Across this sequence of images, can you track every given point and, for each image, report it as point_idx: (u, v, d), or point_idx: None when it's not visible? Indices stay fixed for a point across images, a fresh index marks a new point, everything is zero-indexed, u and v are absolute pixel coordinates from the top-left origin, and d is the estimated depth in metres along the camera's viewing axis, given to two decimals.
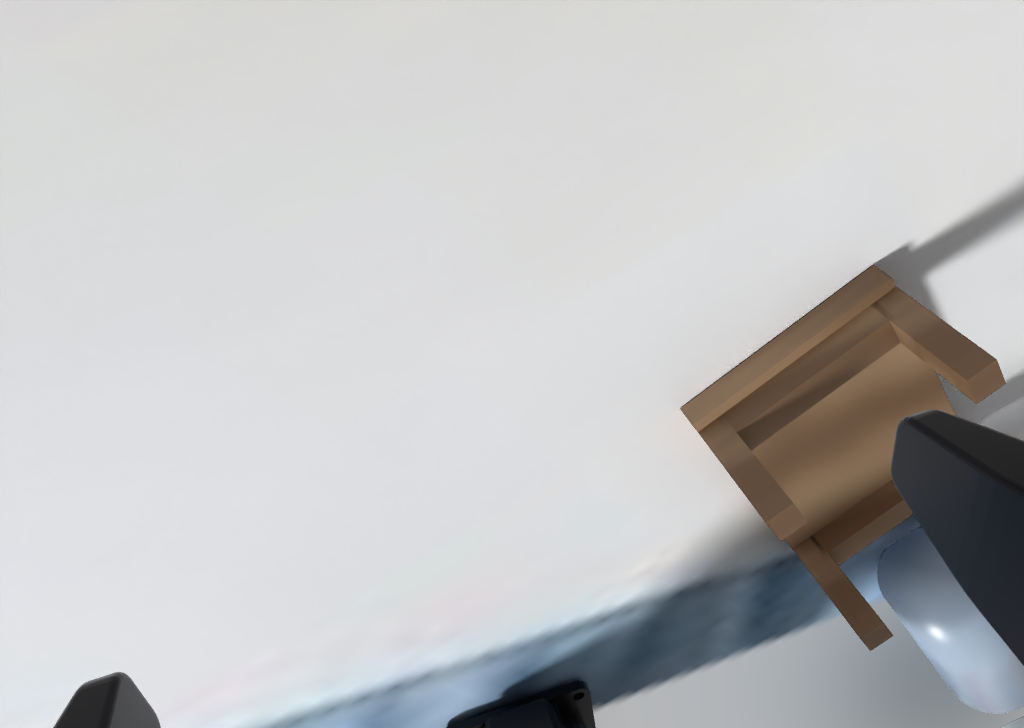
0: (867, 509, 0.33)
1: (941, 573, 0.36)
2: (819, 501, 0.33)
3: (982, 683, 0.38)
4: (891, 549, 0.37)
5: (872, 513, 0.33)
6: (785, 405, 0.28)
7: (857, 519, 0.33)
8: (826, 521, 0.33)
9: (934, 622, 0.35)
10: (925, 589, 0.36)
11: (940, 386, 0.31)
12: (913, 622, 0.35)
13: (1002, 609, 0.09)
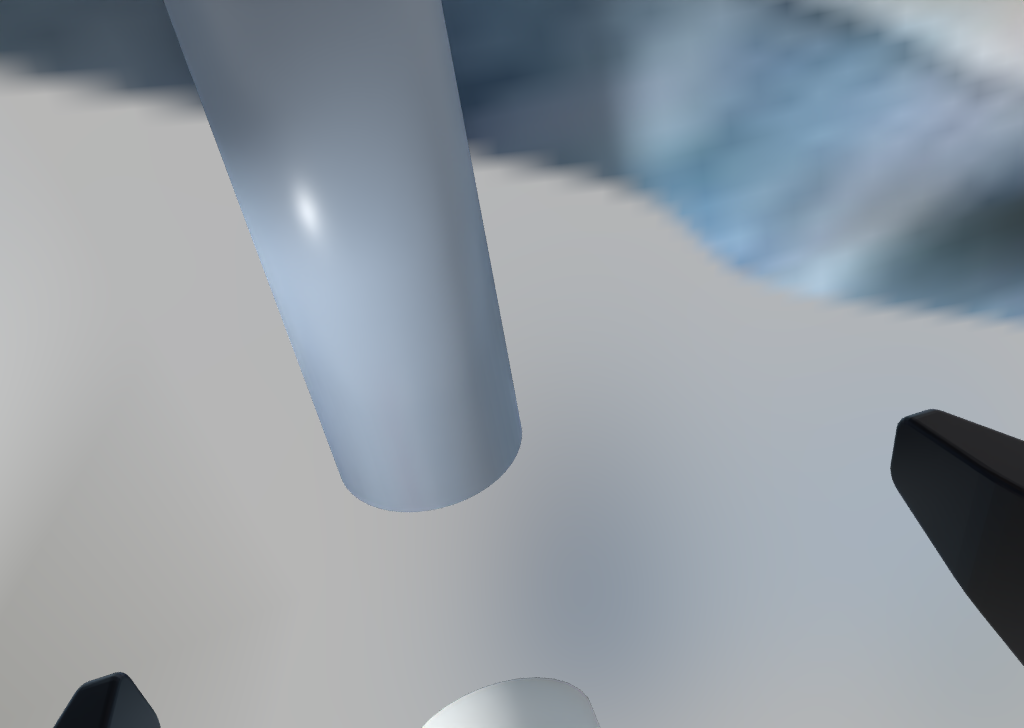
0: None
1: None
2: None
3: (321, 360, 0.16)
4: None
5: None
6: None
7: None
8: None
9: None
10: None
11: None
12: None
13: (1002, 609, 0.09)
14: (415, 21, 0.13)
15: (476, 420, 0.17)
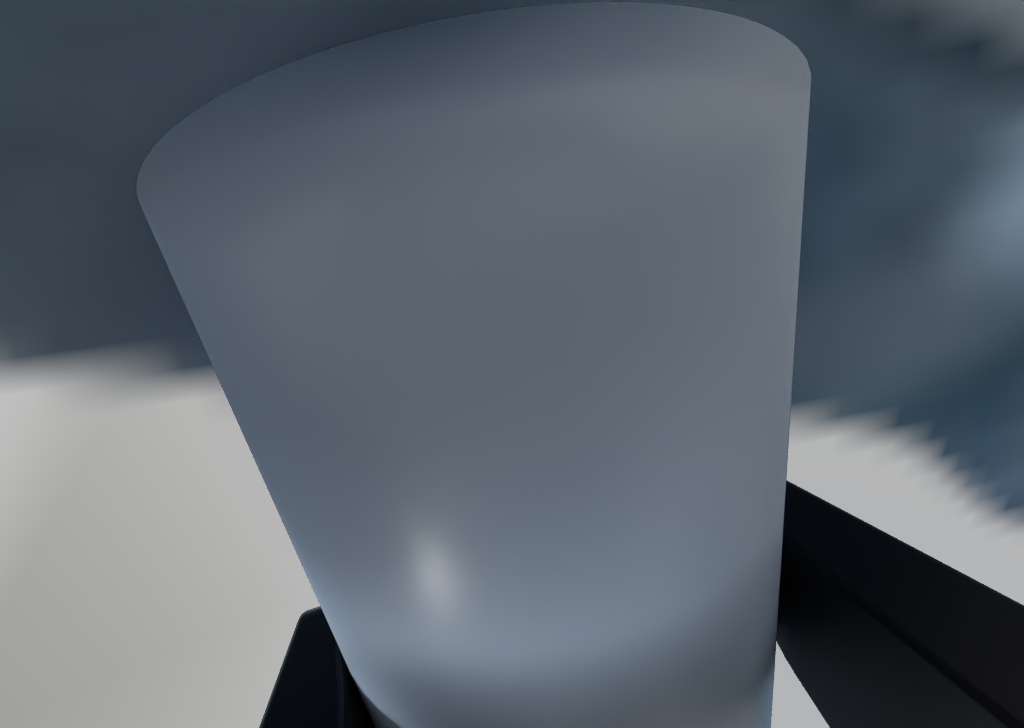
0: None
1: (522, 96, 0.06)
2: None
3: None
4: (346, 49, 0.07)
5: None
6: None
7: None
8: None
9: (306, 261, 0.04)
10: (385, 142, 0.05)
11: None
12: (206, 302, 0.05)
13: (813, 678, 0.09)
14: None
15: None
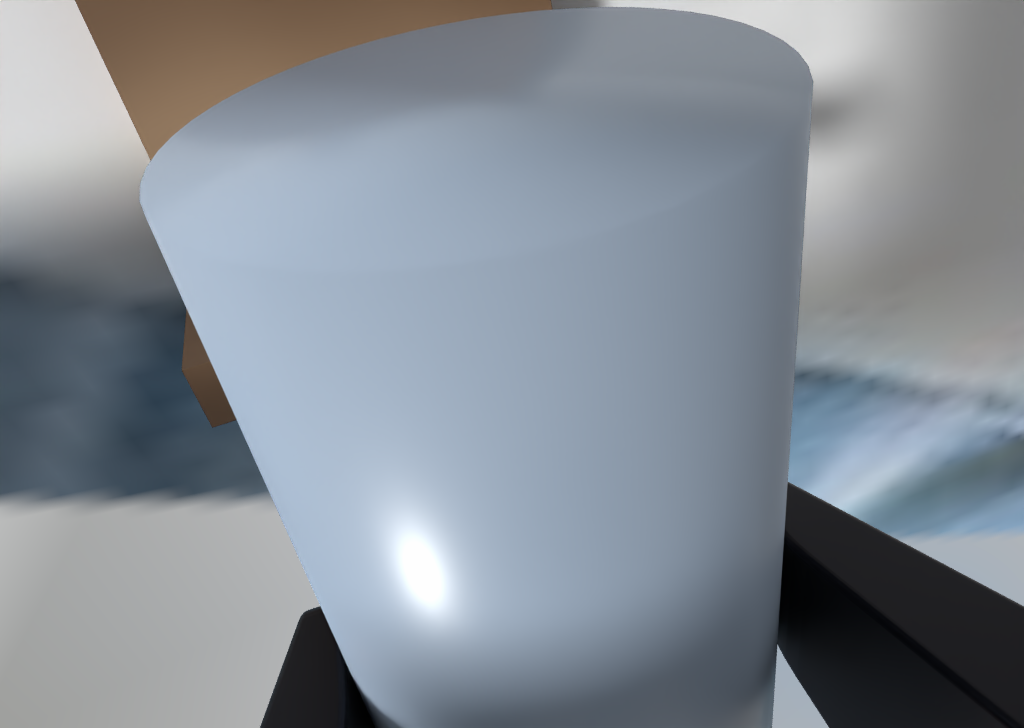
0: None
1: (524, 104, 0.06)
2: None
3: None
4: (348, 55, 0.07)
5: None
6: None
7: None
8: None
9: (308, 269, 0.04)
10: (388, 147, 0.05)
11: None
12: (209, 310, 0.05)
13: (813, 678, 0.09)
14: None
15: None
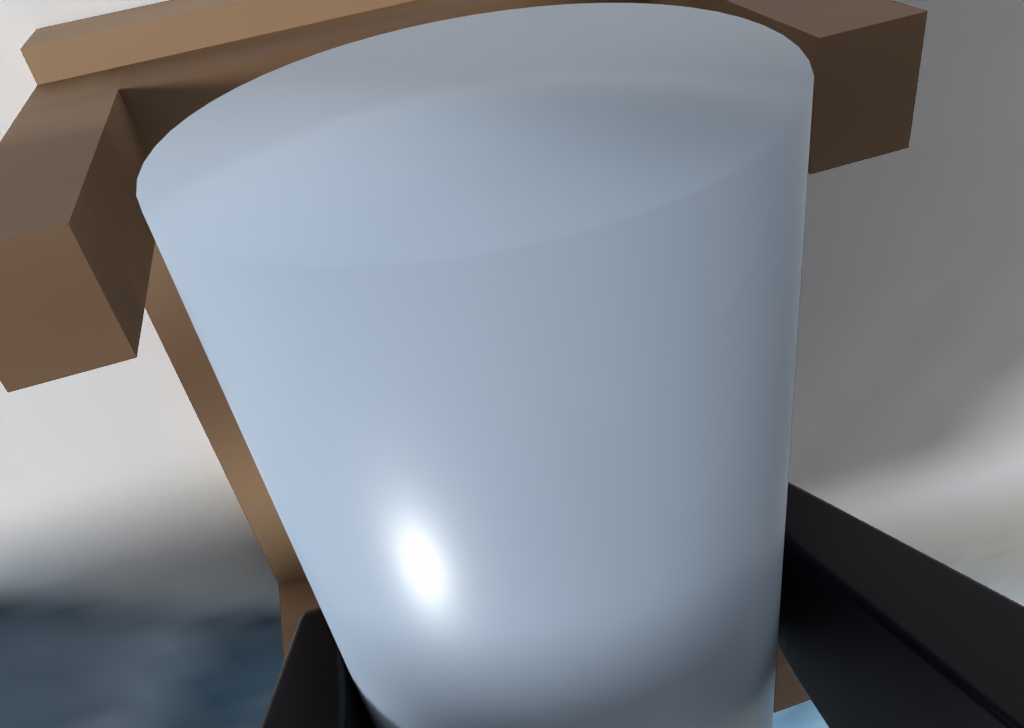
0: None
1: (522, 98, 0.05)
2: None
3: None
4: (348, 51, 0.07)
5: None
6: None
7: None
8: None
9: (307, 262, 0.04)
10: (386, 144, 0.05)
11: None
12: (206, 305, 0.05)
13: (812, 678, 0.09)
14: None
15: None
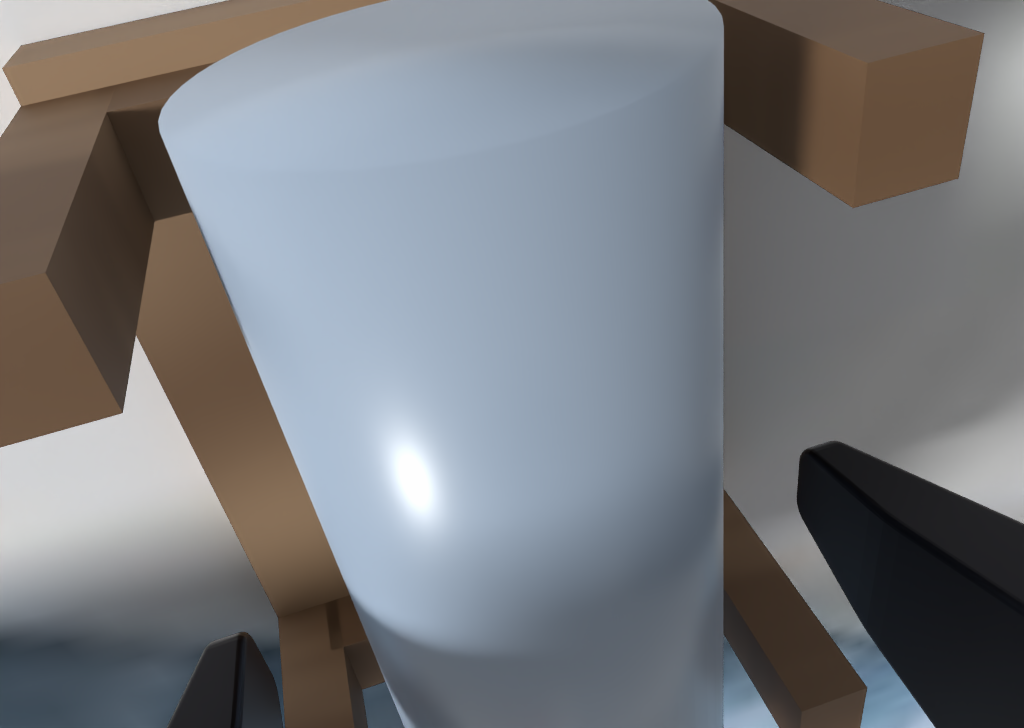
0: None
1: (484, 49, 0.07)
2: None
3: None
4: (332, 21, 0.08)
5: None
6: None
7: None
8: None
9: (309, 167, 0.05)
10: (369, 86, 0.06)
11: None
12: (223, 217, 0.06)
13: (897, 647, 0.09)
14: None
15: None
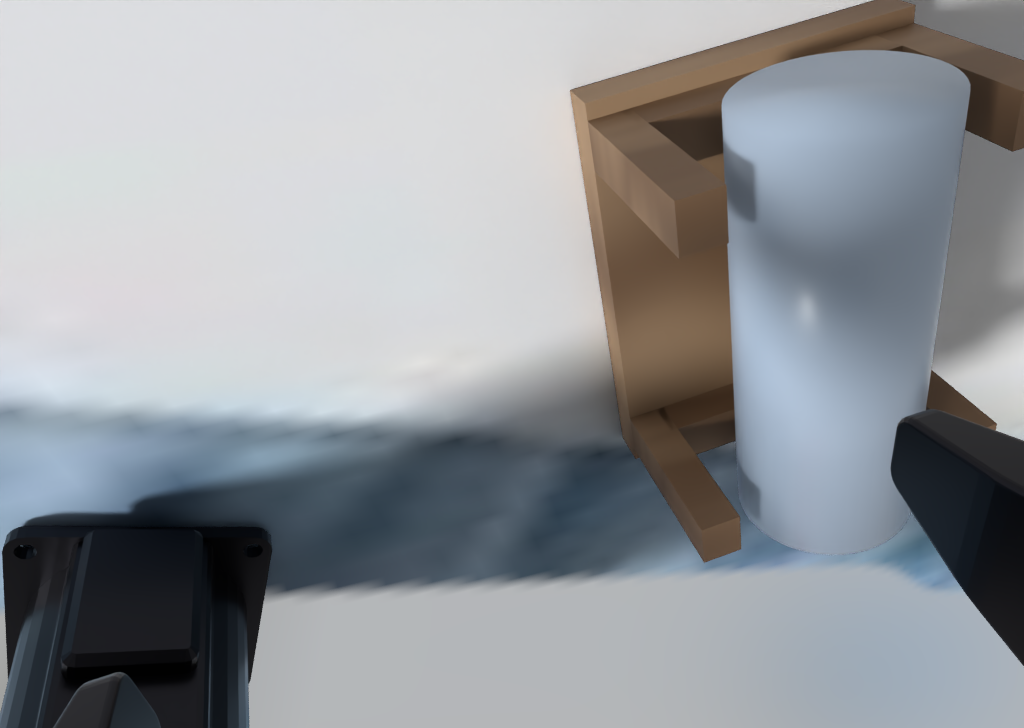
0: None
1: (863, 91, 0.16)
2: (690, 352, 0.23)
3: (842, 437, 0.18)
4: (758, 76, 0.17)
5: None
6: None
7: (727, 399, 0.23)
8: (686, 392, 0.24)
9: (841, 141, 0.14)
10: (825, 108, 0.16)
11: None
12: (786, 162, 0.15)
13: (1002, 609, 0.09)
14: None
15: None
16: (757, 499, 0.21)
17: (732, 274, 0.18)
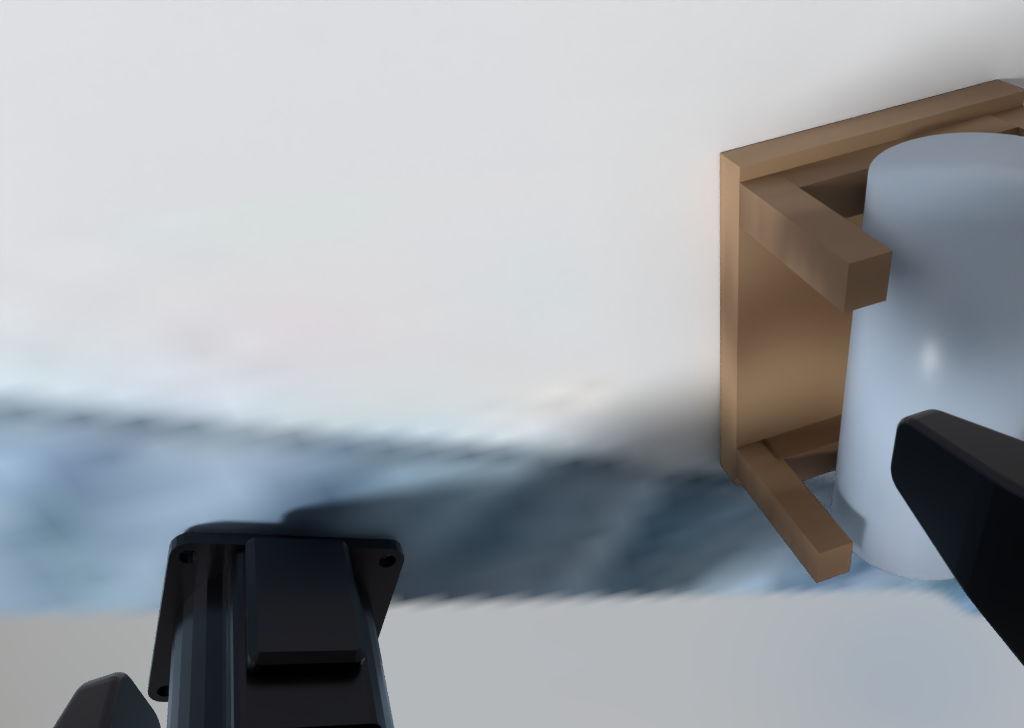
0: None
1: (998, 172, 0.18)
2: (796, 389, 0.25)
3: None
4: (897, 150, 0.20)
5: None
6: (865, 182, 0.20)
7: (825, 433, 0.26)
8: (787, 426, 0.26)
9: (987, 219, 0.17)
10: (966, 187, 0.18)
11: None
12: (933, 233, 0.17)
13: (1002, 609, 0.09)
14: None
15: None
16: (856, 525, 0.23)
17: (859, 323, 0.20)
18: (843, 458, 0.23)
